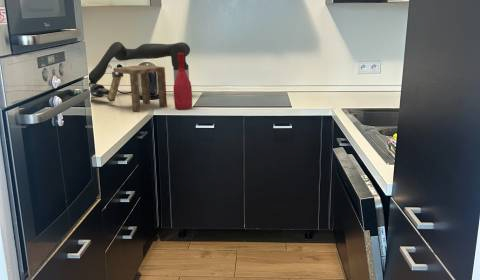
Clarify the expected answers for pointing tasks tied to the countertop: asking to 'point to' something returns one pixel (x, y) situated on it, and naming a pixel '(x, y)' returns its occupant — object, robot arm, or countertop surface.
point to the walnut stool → (144, 83)
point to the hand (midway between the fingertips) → (110, 93)
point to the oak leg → (114, 88)
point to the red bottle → (182, 87)
